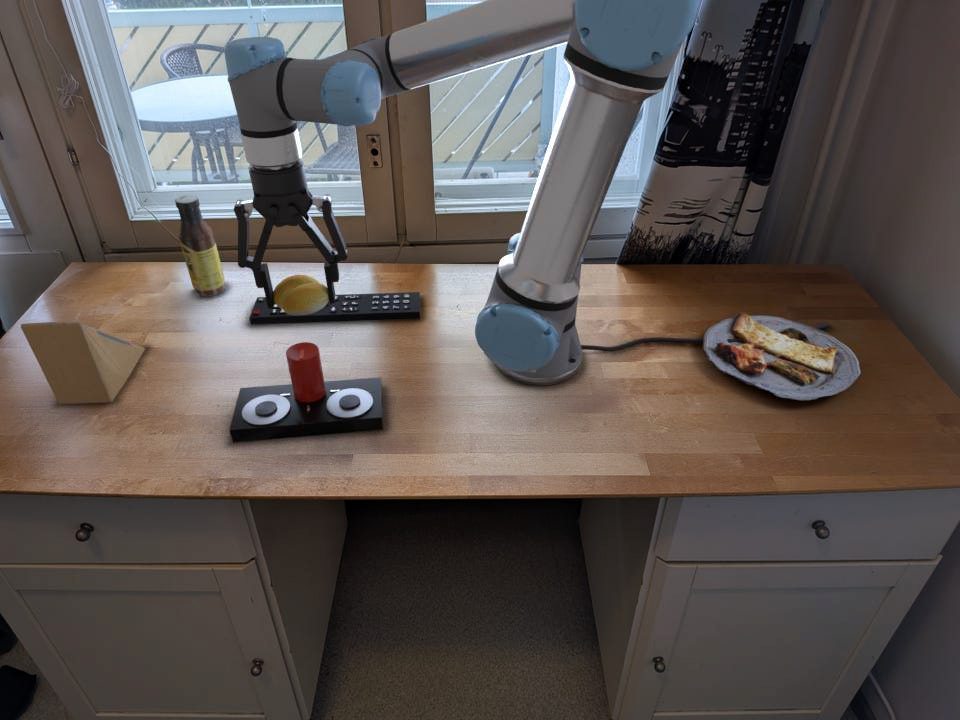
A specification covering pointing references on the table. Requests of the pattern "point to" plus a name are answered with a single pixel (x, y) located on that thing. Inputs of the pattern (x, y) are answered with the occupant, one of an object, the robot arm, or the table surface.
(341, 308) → the remote control
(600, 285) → the table surface
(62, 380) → the sandwich container
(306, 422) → the hob
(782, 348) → the food plate
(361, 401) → the burner rings
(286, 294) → the bread roll
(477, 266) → the table surface
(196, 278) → the sauce bottle
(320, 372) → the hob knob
